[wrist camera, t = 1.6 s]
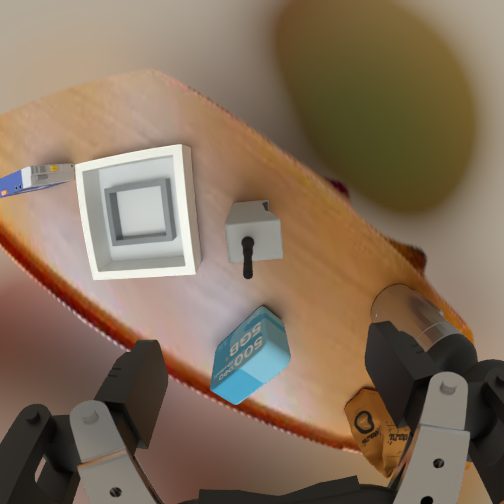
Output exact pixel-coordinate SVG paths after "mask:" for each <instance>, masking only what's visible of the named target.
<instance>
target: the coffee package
mask: <svg viewBox="0 0 504 504" xmlns="http://www.w3.org/2000/svg"><path fill="white" fill-rule="evenodd" d="M344 411H345V413H346V416H347V419H348V421H349V424H350V428H351V432H352V435H353V437H354V438H355V440H356V442H357V444H358V446H359V448H360V450H361V452H362V453H363V455H364V457H365V458H366V459H367V460H368V461H369V463H370V464H371V465H373V466H374V467H375V468H376V469H377V470H378V471H379V472H380V473H382V474H383V475H384V476H385V477H386V478H387V479H391V478H392V476H393V474H394V471H395V469H396V467H397V464H398V462H399V459H400V456H401V454H402V451H403V448H404V446H405V443H406V440H407V437H408V434H409V432H410V428H409V426H406V427H403V428H399V429H397V428H396V426H395V424H394V422H393V420H392V418H391V416H390V414H389V412H388V410H387V408H386V406H385V404H384V402H383V400H382V399H381V397H380V395H379V393H378V391H372V390H367V389H362V390H361V391H360V393H359V394H358V395H356V396H355V397H354V398H353V399H352V400H351V401H350V402H348V403H347V405H346V407H345V409H344Z"/></svg>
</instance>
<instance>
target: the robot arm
mask: <svg viewBox="0 0 504 504" xmlns="http://www.w3.org/2000/svg"><path fill="white" fill-rule="evenodd" d="M443 315H444V314H443V312H442V311H441V310H440V309H439V308H438V307H437V306H435V305H434V304H433V303H432V302H431V301H430V300H428V299H427V298H426V297H425V296H423V295H422V294H421V293H420V292H419V291H417V290H416V289H414V290H412V289H410V288H409V287H408V286H405V285H402V284H397V285H392V286H390V287H388V288H386V289H385V290H383V291H382V292H381V293H380V294H379V295H378V296H377V298H376V299H375V301H374V303H373V306H372V309H371V318H372V322H373V323H371V324H370V326H369V331H368V338H367V345H366V352H365V366H366V370H367V372H368V374H369V376H370V378H371V380H372V381H373V383H374V385H375V387H376V389H377V391H378V393H379V395H380V397H381V399H382V400H383V402H384V404H385V406H386V408H387V410H388V412H389V414H390V416H391V418H392V420H393V422H394V424H395V426H396V428H397V429H399V428H403V427H406V426H409V428H410V432H409V434H408V437H407V440H406V443H405V446H404V448H403V451H402V454H401V456H400V459H399V462H398V464H397V467H396V469H395V471H394V474H393V476H392V478H391V480H390V482H389V484H388V486H387V487H383V486H379V485H372V484H359V482H358V479H357V475H356V476H351V477H347V478H343V479H338V480H332V481H327V482H321V483H318V484H315V485H312V486H310V487H307V488H304V489H301V490H298V491H295V492H292V493H289V494H286V495H282V496H274V495H265V494H259V493H251V492H246V491H241V490H204V489H200V491H199V498H197V499H192V500H188V501H184V502H181V503H178V504H456V503H457V499H458V496H459V492H460V488H461V484H462V480H463V475H464V470H465V465H466V461H468V462H473V463H474V465H475V467H476V469H477V471H478V473H479V475H480V477H481V479H482V481H483V483H484V485H485V488H486V490H487V492H488V494H489V496H490V498H491V501H492V503H493V504H504V361H501V360H494V359H491V360H484V361H480V362H478V360H477V353H476V349H475V347H474V345H473V344H472V343H471V342H470V341H469V340H468V339H467V338H466V337H465V336H464V335H463V334H462V333H461V332H460V331H458V330H457V329H456V328H455V327H454V326H453V325H452V324H451V323H449V322H448V321H447V320H446V319H445V318H444V317H443ZM167 386H168V373H167V369H166V366H165V362H164V359H163V355H162V351H161V348H160V344H159V342H158V341H157V340H137V342H136V343H135V345H134V347H133V348H132V350H131V352H126V353H124V354H123V355H122V356H121V357H119V358H118V359H117V360H116V362H115V364H114V365H113V367H112V370H110V372H109V374H108V377H106V379H105V381H104V382H103V384H102V386H101V387H100V389H99V391H98V393H97V394H96V396H95V398H94V400H92V401H86V402H83V403H80V404H79V405H77V406H76V407H75V408H74V409H73V410H72V412H71V413H70V415H56V416H52V415H51V413H50V411H49V410H48V408H47V407H46V406H44V405H42V404H33V405H29V406H27V407H25V408H24V409H23V410H22V411H21V412H20V413H19V415H18V416H17V418H16V420H15V421H14V422H13V424H12V426H11V427H10V429H9V430H8V432H7V434H6V435H5V437H4V439H3V440H2V442H1V444H0V504H72V503H73V500H74V497H75V494H76V491H77V487H78V485H79V482H80V479H81V480H82V483H83V486H84V489H85V492H86V494H87V497H88V499H89V502H90V504H165V503H164V502H163V501H162V499H161V498H160V496H159V495H158V493H157V492H156V490H155V489H154V487H153V486H152V484H151V482H150V481H149V479H148V478H147V476H146V474H145V473H144V471H143V469H142V467H141V466H140V464H139V462H138V460H137V459H136V457H135V455H134V454H135V451H136V448H142V449H148V447H149V444H150V440H151V437H152V433H153V430H154V427H155V424H156V420H157V417H158V414H159V411H160V408H161V405H162V401H163V398H164V395H165V392H166V389H167ZM42 457H43V458H44V459H45V460H46V463H45V465H44V467H43V469H42V472H41V474H40V476H39V478H38V481H37V483H36V482H35V472H36V470H37V467H38V465H39V463H40V461H41V459H42Z"/></svg>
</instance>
